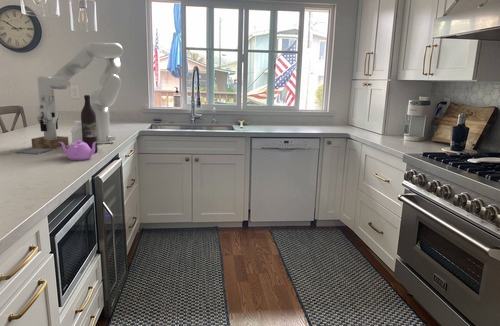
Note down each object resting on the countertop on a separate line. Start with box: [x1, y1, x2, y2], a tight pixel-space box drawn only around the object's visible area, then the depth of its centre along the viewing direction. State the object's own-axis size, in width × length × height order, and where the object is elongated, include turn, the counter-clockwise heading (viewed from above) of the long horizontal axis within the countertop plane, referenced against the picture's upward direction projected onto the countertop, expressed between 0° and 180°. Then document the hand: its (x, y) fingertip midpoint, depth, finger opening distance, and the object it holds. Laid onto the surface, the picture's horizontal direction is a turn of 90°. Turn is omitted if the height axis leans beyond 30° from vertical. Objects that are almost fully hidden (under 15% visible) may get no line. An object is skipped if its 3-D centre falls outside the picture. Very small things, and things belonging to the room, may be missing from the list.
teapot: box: [59, 140, 98, 161], centre depth 177 cm, size 12×14×9 cm
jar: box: [70, 120, 82, 144], centre depth 203 cm, size 12×10×15 cm
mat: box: [15, 147, 54, 155], centre depth 190 cm, size 12×12×1 cm
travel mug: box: [43, 113, 58, 140], centre depth 203 cm, size 6×7×20 cm
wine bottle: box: [80, 94, 98, 154], centre depth 189 cm, size 7×7×30 cm
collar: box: [31, 135, 69, 150], centre depth 204 cm, size 13×13×5 cm
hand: (49, 130), depth 203 cm, fingers open, 9 cm apart
